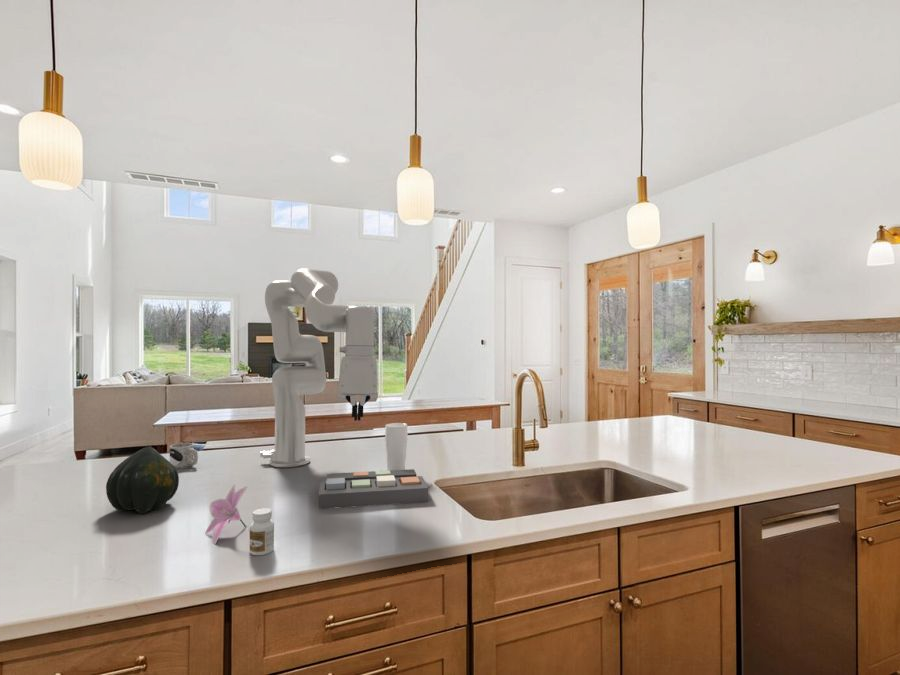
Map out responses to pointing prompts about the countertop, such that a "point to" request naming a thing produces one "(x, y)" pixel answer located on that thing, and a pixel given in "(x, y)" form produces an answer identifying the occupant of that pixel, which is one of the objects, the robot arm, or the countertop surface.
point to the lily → (225, 512)
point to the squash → (142, 482)
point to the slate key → (335, 483)
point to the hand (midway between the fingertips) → (357, 419)
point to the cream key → (385, 481)
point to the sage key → (360, 483)
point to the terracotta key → (409, 480)
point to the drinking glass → (396, 445)
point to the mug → (183, 455)
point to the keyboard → (372, 490)
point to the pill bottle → (261, 532)
